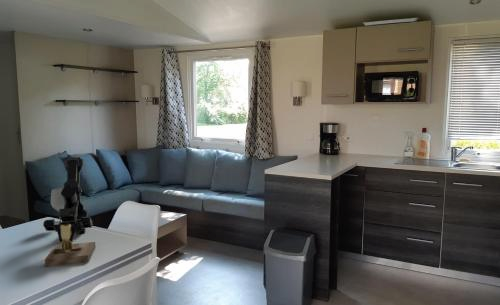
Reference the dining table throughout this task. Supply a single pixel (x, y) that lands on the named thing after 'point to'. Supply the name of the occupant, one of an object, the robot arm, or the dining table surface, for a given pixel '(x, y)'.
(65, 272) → the dining table surface
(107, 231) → the dining table surface
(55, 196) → the wineglass
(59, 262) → the keyhole board
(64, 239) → the peg
